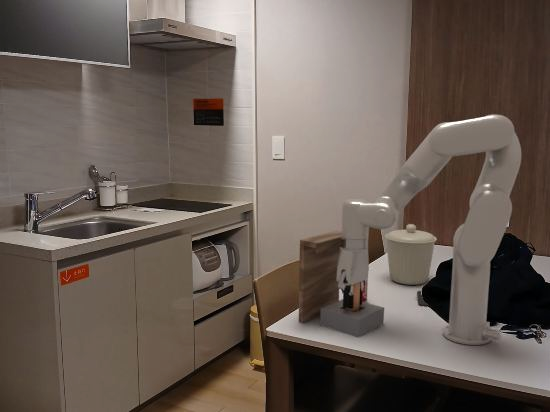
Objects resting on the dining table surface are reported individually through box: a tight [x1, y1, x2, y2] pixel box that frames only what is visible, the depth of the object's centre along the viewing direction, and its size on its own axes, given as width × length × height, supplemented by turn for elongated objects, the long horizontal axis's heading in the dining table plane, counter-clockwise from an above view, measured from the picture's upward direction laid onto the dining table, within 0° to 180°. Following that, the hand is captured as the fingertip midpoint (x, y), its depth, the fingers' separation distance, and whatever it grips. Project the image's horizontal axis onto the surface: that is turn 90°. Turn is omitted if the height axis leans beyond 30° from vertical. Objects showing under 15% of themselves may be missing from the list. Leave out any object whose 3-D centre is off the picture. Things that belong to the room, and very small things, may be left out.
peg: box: [345, 281, 360, 312], centre depth 160 cm, size 4×4×9 cm
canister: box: [384, 223, 438, 286], centre depth 202 cm, size 18×18×21 cm
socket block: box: [319, 298, 385, 338], centre depth 161 cm, size 13×13×5 cm
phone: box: [416, 290, 430, 308], centre depth 184 cm, size 7×1×15 cm
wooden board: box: [298, 230, 342, 324], centre depth 165 cm, size 6×18×24 cm, turn 138°
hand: (352, 305), depth 160 cm, fingers closed on peg, 3 cm apart
